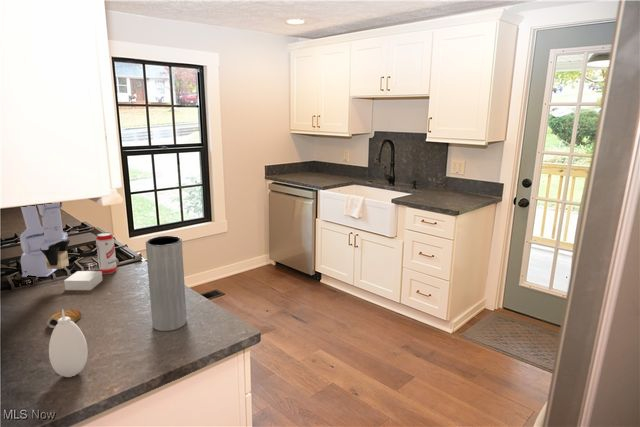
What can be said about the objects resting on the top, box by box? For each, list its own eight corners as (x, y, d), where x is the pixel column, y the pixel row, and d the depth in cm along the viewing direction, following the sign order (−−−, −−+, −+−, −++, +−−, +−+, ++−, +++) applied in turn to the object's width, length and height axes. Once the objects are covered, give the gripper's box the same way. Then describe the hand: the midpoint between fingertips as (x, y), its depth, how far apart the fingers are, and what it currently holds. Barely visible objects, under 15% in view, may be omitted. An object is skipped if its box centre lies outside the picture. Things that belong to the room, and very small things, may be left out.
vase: (152, 318, 129) (145, 237, 123) (185, 313, 133) (180, 234, 126) (152, 334, 120) (145, 247, 114) (187, 328, 124) (182, 243, 117)
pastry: (70, 313, 131) (68, 302, 130) (87, 316, 130) (86, 305, 129) (44, 327, 123) (43, 316, 122) (63, 331, 121) (61, 319, 120)
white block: (65, 290, 148) (64, 280, 147) (78, 280, 156) (77, 271, 155) (90, 290, 148) (89, 280, 147) (102, 280, 157) (101, 271, 156)
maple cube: (47, 269, 146) (45, 255, 144) (54, 264, 150) (52, 251, 149) (62, 268, 146) (60, 255, 145) (68, 263, 151) (67, 251, 150)
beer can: (120, 269, 167) (116, 232, 164) (111, 275, 161) (107, 236, 157) (105, 268, 168) (101, 231, 164) (96, 274, 162) (91, 236, 158)
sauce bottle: (45, 380, 99) (34, 312, 95) (74, 362, 106) (65, 298, 102) (68, 388, 96) (58, 319, 92) (97, 369, 103) (89, 304, 99)
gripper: (54, 232, 138) (59, 269, 141) (74, 221, 152) (78, 255, 155) (31, 232, 137) (37, 270, 141) (54, 221, 151) (59, 255, 155)
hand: (57, 262), depth 148 cm, fingers closed on maple cube, 5 cm apart
